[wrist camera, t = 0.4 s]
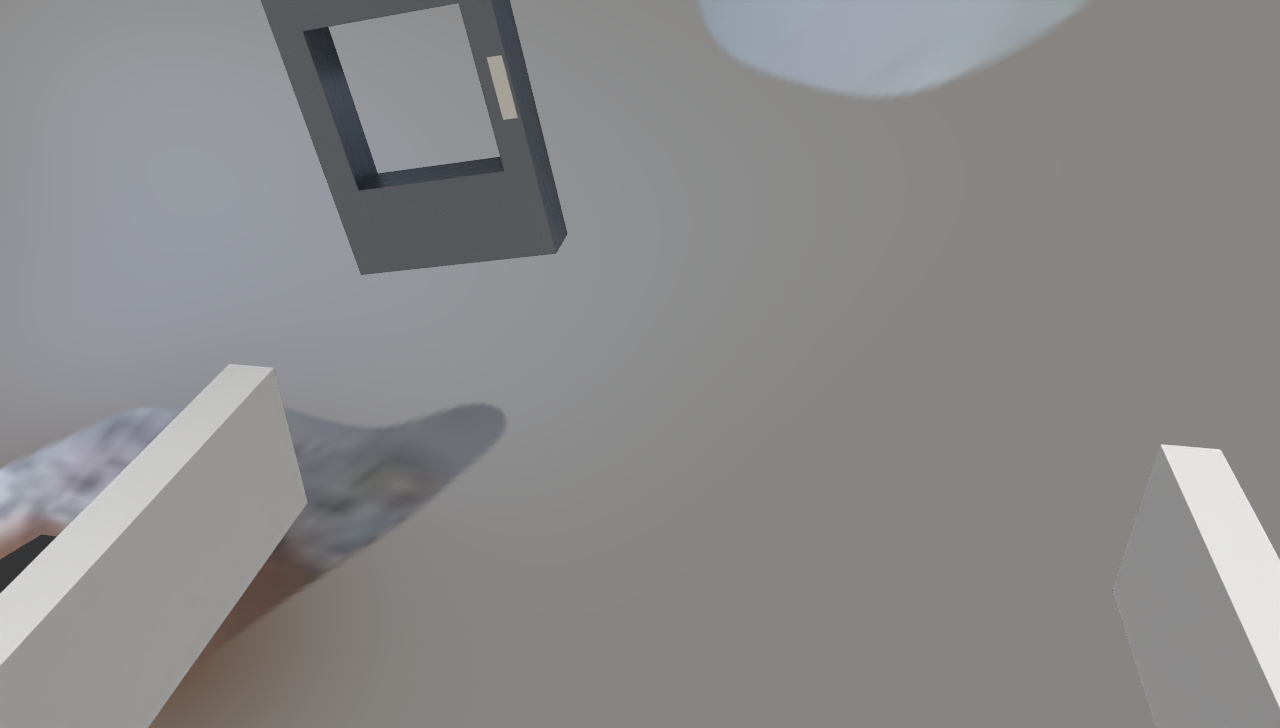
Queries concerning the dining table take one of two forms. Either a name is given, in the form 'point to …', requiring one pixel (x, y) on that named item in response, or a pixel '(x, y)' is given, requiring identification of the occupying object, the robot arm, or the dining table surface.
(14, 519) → the dining table surface
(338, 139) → the panel
